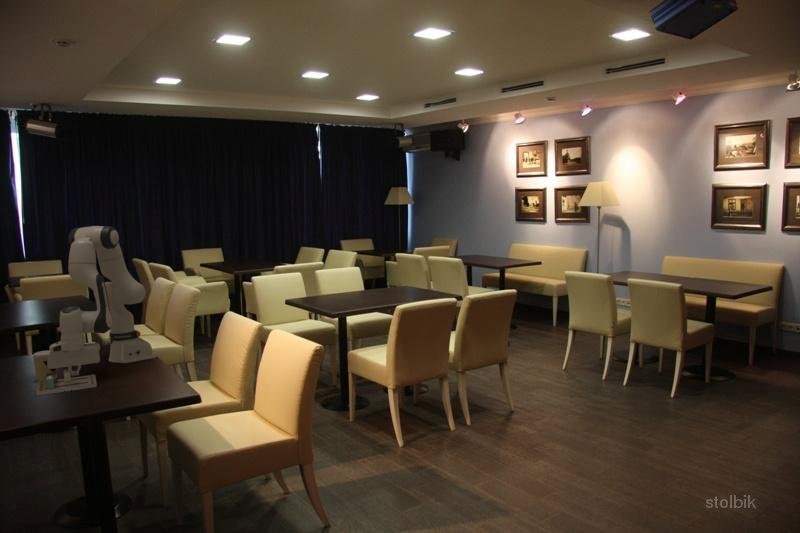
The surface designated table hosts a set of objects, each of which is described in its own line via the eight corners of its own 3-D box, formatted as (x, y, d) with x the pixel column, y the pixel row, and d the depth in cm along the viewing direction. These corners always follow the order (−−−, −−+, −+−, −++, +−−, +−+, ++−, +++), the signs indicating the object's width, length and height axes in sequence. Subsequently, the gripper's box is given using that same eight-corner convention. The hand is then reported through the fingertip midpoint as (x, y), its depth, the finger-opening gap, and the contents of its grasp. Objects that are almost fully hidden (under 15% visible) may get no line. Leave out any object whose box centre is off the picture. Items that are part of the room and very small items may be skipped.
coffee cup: (48, 382, 264) (45, 355, 262) (29, 381, 266) (27, 354, 264) (63, 376, 273) (61, 350, 272) (46, 375, 275) (44, 349, 273)
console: (95, 378, 269) (95, 373, 269) (96, 386, 256) (96, 381, 256) (38, 386, 259) (37, 381, 258) (36, 395, 246) (36, 390, 245)
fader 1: (54, 385, 253) (53, 375, 253) (53, 388, 249) (53, 377, 249) (47, 386, 252) (46, 376, 252) (47, 389, 248) (46, 378, 248)
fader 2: (70, 378, 263) (70, 368, 263) (70, 381, 259) (70, 371, 259) (64, 379, 262) (63, 369, 262) (64, 381, 258) (63, 371, 258)
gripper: (99, 339, 268) (101, 370, 270) (46, 345, 258) (48, 377, 260) (99, 342, 263) (102, 373, 264) (45, 348, 253) (48, 380, 254)
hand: (75, 375), depth 262 cm, fingers closed
